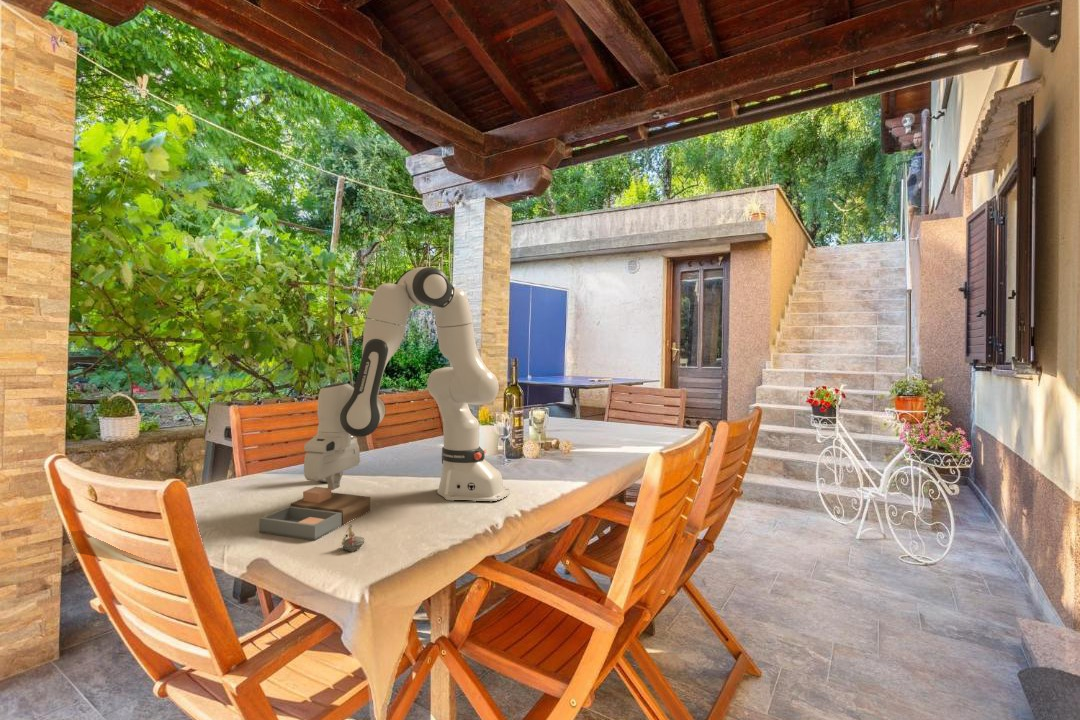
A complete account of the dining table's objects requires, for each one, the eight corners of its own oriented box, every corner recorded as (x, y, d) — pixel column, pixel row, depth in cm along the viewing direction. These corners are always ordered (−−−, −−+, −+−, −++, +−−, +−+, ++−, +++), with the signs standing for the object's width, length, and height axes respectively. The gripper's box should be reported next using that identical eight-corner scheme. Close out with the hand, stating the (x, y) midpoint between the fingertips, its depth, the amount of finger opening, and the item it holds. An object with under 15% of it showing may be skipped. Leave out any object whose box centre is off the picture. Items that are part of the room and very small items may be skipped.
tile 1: (331, 497, 146) (331, 488, 145) (319, 502, 141) (319, 493, 141) (315, 495, 147) (315, 486, 147) (303, 500, 142) (303, 491, 142)
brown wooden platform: (369, 511, 147) (370, 496, 147) (342, 525, 136) (342, 510, 135) (320, 504, 151) (320, 491, 151) (290, 518, 140) (290, 503, 140)
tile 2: (311, 526, 127) (311, 536, 127) (326, 519, 131) (326, 529, 131) (295, 523, 128) (295, 533, 128) (309, 516, 133) (309, 526, 133)
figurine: (367, 543, 124) (363, 519, 123) (363, 552, 119) (359, 526, 119) (343, 548, 123) (339, 523, 122) (339, 556, 119) (335, 530, 118)
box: (341, 526, 135) (341, 512, 135) (314, 540, 125) (314, 526, 125) (288, 519, 139) (288, 506, 139) (259, 532, 130) (259, 518, 130)
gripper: (347, 433, 161) (346, 478, 161) (299, 446, 141) (299, 497, 142) (365, 434, 159) (365, 480, 160) (319, 447, 139) (319, 500, 140)
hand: (333, 488), depth 151 cm, fingers closed
